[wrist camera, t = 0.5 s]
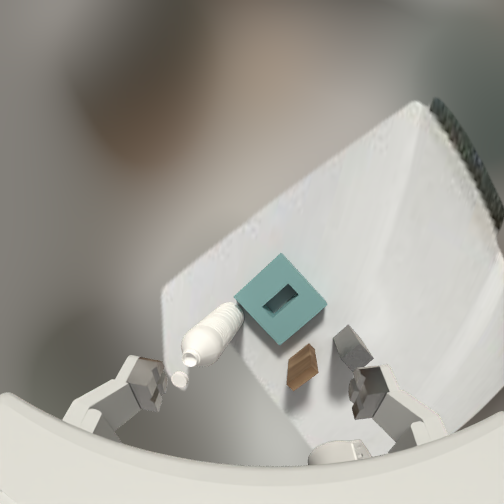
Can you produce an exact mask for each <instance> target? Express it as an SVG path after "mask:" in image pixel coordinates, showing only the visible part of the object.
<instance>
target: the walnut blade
mask: <svg viewBox="0 0 504 504" xmlns="http://www.w3.org/2000/svg"><path fill="white" fill-rule="evenodd" d="M316 374H318V367H317V360H316V354H315V349H314V348H313V347H312V346H311V345H310V344H307V345H306V346H305V347H304V348H302V349H301V350H300V351H299V352H297V353H296V354H295V355H294V356H292V357H291V358H290V359H289V362H288V374H287V385H288V386H289V387H290V388H291V389H292V390H293V391H294V390H296V389H297V388H299V387H300V386H301V385H303V384H304V383H305V382H307V381H308V380H310V379H311V378H312V377H314V376H315V375H316Z"/></svg>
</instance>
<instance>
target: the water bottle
mask: <svg viewBox="0 0 504 504" xmlns="http://www.w3.org/2000/svg"><path fill="white" fill-rule="evenodd" d="M243 321H244V313H243V311H242V309H241V308H240V307H239V306H238V305H237V304H235V303H230V302H228V303H224V304H222V305H220V306H219V307H218V308H217V309H215V310H214V311H213V312H212V313H210V314H209V315H208V316H207V317H205V318H204V319H203V320H202V321H201V322H199V323H198V324H197V325H196V326H194V327H193V328H192V329H190V330H189V331H188V332H187V333H186V334H185V335H184V337H183V339H182V343H181V349H182V353H183V356H182V361H183V363H184V364H185V365H187V366H189V367H193V366H199V367H205V366H209V365H212V364H213V363H215V362H216V361H217V360H218V359H219V357H220V356H221V354H222V353H223V351H224V350H225V348H226V347H227V345H228V344H229V343H230V341H231V340H232V338H233V337H234V335H235V334H236V333H237V331H238V330H239V328H240V327H241V325H242V324H243ZM171 380H172V383H173V384H174V385H175V386H177V387H179V388H183V387H185V386H186V385H187V384H188V382H189V379H188V376H187V375H186V374H185V373H184V372H181V371H177V372H175V373H174V374H173V375H172V377H171Z"/></svg>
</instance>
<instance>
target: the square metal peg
mask: <svg viewBox="0 0 504 504" xmlns="http://www.w3.org/2000/svg"><path fill="white" fill-rule="evenodd" d="M333 339H334V342H335V344H336V347H337V350H338V352H339V355H340V358H341V360H342V361H343V362H344V363H345V364H346V365H347V366H348V367H349V368H350V369H351V370H352V371H353V372H354V371H355V369H356V368H358V367H364V366H366V365H367V364H368V363H369V362H370V361H371V360H373V359H374V358H373V356H372V355H371V353H370V352H369V350H368V349H367V347H366V346H365V344H364V343H363V341H362V340H361V338H360V337H359V336H358V335H357V334H356V332H355V331H354V330H353V329H352V328H351V327H350V326H349V325H347V326H346V327H345V328H344V329H343V330H341V331H340V332H339V333H338V334H337V335H336V336H335V337H333Z"/></svg>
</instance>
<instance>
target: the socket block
mask: <svg viewBox="0 0 504 504" xmlns="http://www.w3.org/2000/svg"><path fill="white" fill-rule="evenodd" d="M287 284H289V285H290V286H291V287H292V288H293V289H294V290H295V291H296V292H297V294H296V295H294V296H293V297H292V298H291V299H290V300H289V301H288V302H287V303H285V304H284V305H283V306H282V307H281V308H280V309H279V310H277V311H276V312H275V313H273V312H272V311H271V310H270V309H269V308H268V307H267V306H266V305H265V304H266V303H267V302H268V301H269V300H270V299H271V298H273V297H274V296H275V295H276V294H277V293H278V292H279V291H280V290H281V289H283V288H284V287H285V286H286V285H287ZM234 298H235V299H236V300H237V301H238V302H239V303H240V304H241V305H242V307H243V308H244V309H245V310H246V311H247V312H248V313H249V314H250V315H251V316H252V317H253V318H254V319H255V320H256V321H257V323H258V324H259V325H260V326H261V327H262V328H263V329H264V330H265V331H266V332H267V333H268V334H269V335H270V336H271V337H272V338H273V339H274V340H275V341H276V342H277V343H278V344H279V345H281V344H282V343H283V342H284V341H286V340H287V339H288V338H289V337H291V336H292V335H293V334H294V333H295V332H297V331H298V330H299V329H300V328H301V327H303V326H304V325H305V324H306V323H307V322H308V321H310V320H311V319H312V318H313V317H314V316H315V315H316V314H318V313H319V312H320V311H321V310H322V309H323V308H324V307H325V306H327V303H326V301H325V300H324V299H323V297H322V296H321V295H320V294H319V293H318V292H317V291H316V290H315V289H314V288H313V286H312V285H311V284H310V283H309V282H308V281H307V280H306V279H305V278H304V277H303V276H302V274H301V273H300V272H299V271H298V270H297V269H296V268H295V267H294V266H293V265H292V264H291V263H290V261H289V260H288V259H287V258H286V257H285V256H284V255H283V254H282V253H280V254H279V255H278V256H277V257H276V258H275V259H274V260H273V261H272V262H271V263H270V264H268V265H267V266H266V267H265V268H264V269H263V270H262V271H261V272H260V273H259V274H258V275H257V276H256V277H254V278H253V279H252V280H251V281H250V282H249V283H248V284H247V285H246V286H245V287H244V288H243V289H241V290H240V291H239V292H238V293H237V294H236V295H235V296H234Z"/></svg>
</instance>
